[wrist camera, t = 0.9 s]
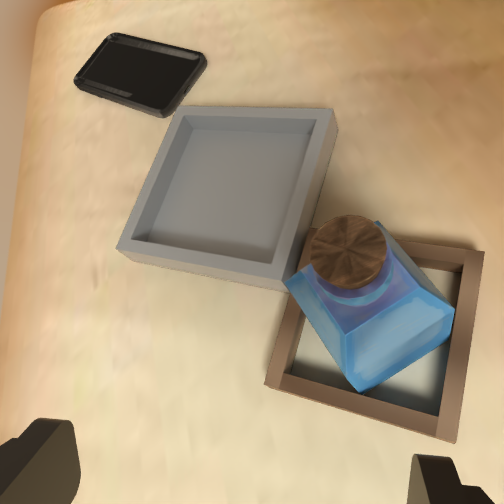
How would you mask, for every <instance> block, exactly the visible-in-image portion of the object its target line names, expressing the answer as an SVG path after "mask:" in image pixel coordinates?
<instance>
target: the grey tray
mask: <svg viewBox="0 0 504 504" xmlns="http://www.w3.org/2000/svg"><path fill="white" fill-rule="evenodd" d="M337 133H338V127H337V123H336V119H335V115H334V111H333V109H322V108H273V107H224V106H178V107H177V109H176V112H175V114H174V116H173V119H172V121H171V123H170V125H169V128H168V130H167V132H166V135H165V137H164V139H163V141H162V144H161V146H160V148H159V151H158V153H157V155H156V157H155V160H154V162H153V164H152V166H151V169H150V171H149V173H148V176H147V178H146V180H145V182H144V185H143V187H142V189H141V192H140V194H139V196H138V198H137V201H136V203H135V205H134V208H133V210H132V212H131V214H130V217H129V219H128V221H127V224H126V226H125V228H124V230H123V233H122V235H121V237H120V240H119V242H118V244H117V246H116V250H118V251H119V252H121V253H122V254H124V255H125V256H126V257H128V258H129V259H131V260H132V261H135V262H139V263H144V264H149V265H154V266H159V267H164V268H169V269H174V270H179V271H184V272H188V273H193V274H198V275H203V276H208V277H213V278H218V279H223V280H228V281H233V282H237V283H242V284H247V285H252V286H257V287H262V288H267V289H272V290H277V291H282V292H286V293H291V292H290V290H289V289H288V287H287V286H286V284H285V283H284V282H286V281H287V280H288V279H290V278H291V277H292V276H293V275H295V274H296V272H297V269H298V265H299V262H300V258H301V255H302V252H303V248H304V245H305V241H306V238H307V234H308V231H309V228H310V226H311V222H312V219H313V215H314V212H315V208H316V205H317V202H318V198H319V195H320V191H321V188H322V184H323V181H324V178H325V174H326V171H327V167H328V164H329V160H330V157H331V154H332V150H333V147H334V143H335V140H336V136H337Z"/></svg>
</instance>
